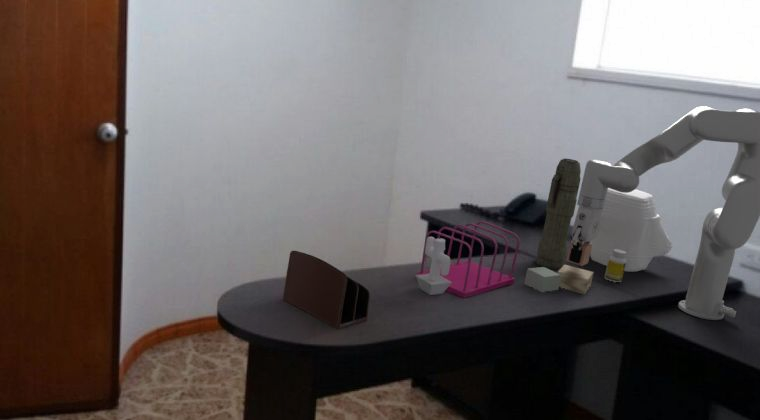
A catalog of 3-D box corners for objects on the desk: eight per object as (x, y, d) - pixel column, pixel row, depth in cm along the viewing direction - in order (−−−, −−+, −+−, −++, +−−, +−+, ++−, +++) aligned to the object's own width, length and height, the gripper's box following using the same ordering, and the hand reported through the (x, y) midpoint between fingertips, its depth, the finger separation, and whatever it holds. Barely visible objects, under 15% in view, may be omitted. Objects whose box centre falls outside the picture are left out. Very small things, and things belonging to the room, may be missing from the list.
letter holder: (337, 330, 173) (345, 272, 170) (282, 300, 186) (288, 246, 182) (367, 321, 181) (375, 266, 177) (311, 293, 193) (318, 241, 190)
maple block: (590, 287, 230) (593, 272, 229) (584, 295, 222) (588, 279, 221) (561, 279, 234) (564, 264, 233) (554, 287, 226) (558, 271, 225)
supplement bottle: (622, 284, 237) (629, 255, 235) (604, 280, 238) (611, 251, 236) (620, 279, 242) (627, 250, 240) (603, 275, 243) (610, 247, 241)
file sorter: (514, 284, 223) (524, 233, 219) (463, 299, 205) (473, 244, 201) (467, 265, 234) (476, 217, 230) (415, 278, 216) (424, 225, 212)
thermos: (527, 261, 246) (548, 157, 237) (548, 257, 254) (569, 156, 245) (549, 270, 240) (571, 164, 231) (570, 266, 248) (592, 163, 239)
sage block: (557, 290, 223) (561, 275, 221) (541, 293, 219) (544, 276, 217) (540, 282, 228) (544, 266, 227) (524, 284, 224) (527, 268, 223)
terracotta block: (588, 263, 227) (592, 244, 225) (582, 265, 223) (586, 246, 221) (572, 257, 230) (576, 239, 228) (566, 260, 226) (570, 241, 224)
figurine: (432, 299, 201) (441, 245, 197) (410, 286, 208) (419, 234, 204) (452, 296, 205) (461, 244, 201) (431, 283, 212) (439, 233, 209)
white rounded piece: (597, 249, 274) (613, 180, 267) (667, 274, 255) (685, 201, 249) (565, 256, 259) (581, 183, 253) (637, 282, 241) (655, 205, 234)
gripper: (593, 208, 213) (579, 269, 217) (613, 202, 226) (599, 259, 231) (568, 202, 217) (554, 261, 221) (589, 195, 230) (576, 251, 235)
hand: (577, 259), depth 226 cm, fingers closed on terracotta block, 5 cm apart
